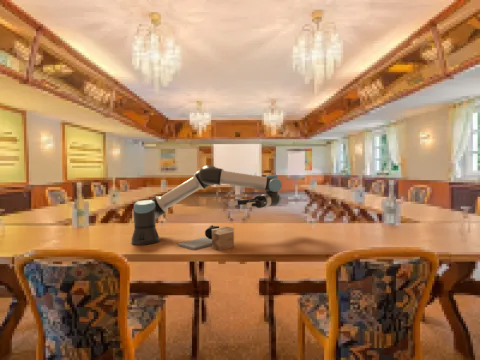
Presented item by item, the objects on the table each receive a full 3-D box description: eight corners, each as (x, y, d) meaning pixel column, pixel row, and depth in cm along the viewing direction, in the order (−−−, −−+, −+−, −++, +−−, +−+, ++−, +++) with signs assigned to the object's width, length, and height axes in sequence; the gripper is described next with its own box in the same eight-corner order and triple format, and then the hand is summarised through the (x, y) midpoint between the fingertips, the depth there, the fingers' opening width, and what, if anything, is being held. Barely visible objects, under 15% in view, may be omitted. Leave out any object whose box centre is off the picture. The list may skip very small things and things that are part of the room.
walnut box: (212, 248, 150) (211, 229, 150) (226, 244, 158) (225, 226, 157) (220, 250, 146) (219, 230, 146) (233, 246, 153) (233, 227, 153)
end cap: (208, 235, 181) (208, 225, 181) (219, 235, 180) (219, 225, 180) (205, 239, 171) (204, 228, 171) (216, 239, 170) (216, 228, 170)
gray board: (177, 245, 157) (177, 243, 157) (203, 239, 171) (203, 237, 170) (193, 250, 148) (193, 247, 148) (219, 243, 161) (219, 241, 161)
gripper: (279, 208, 167) (255, 213, 151) (246, 206, 184) (222, 209, 168) (279, 195, 166) (255, 198, 151) (246, 194, 184) (222, 196, 168)
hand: (237, 204), depth 160 cm, fingers open, 13 cm apart
